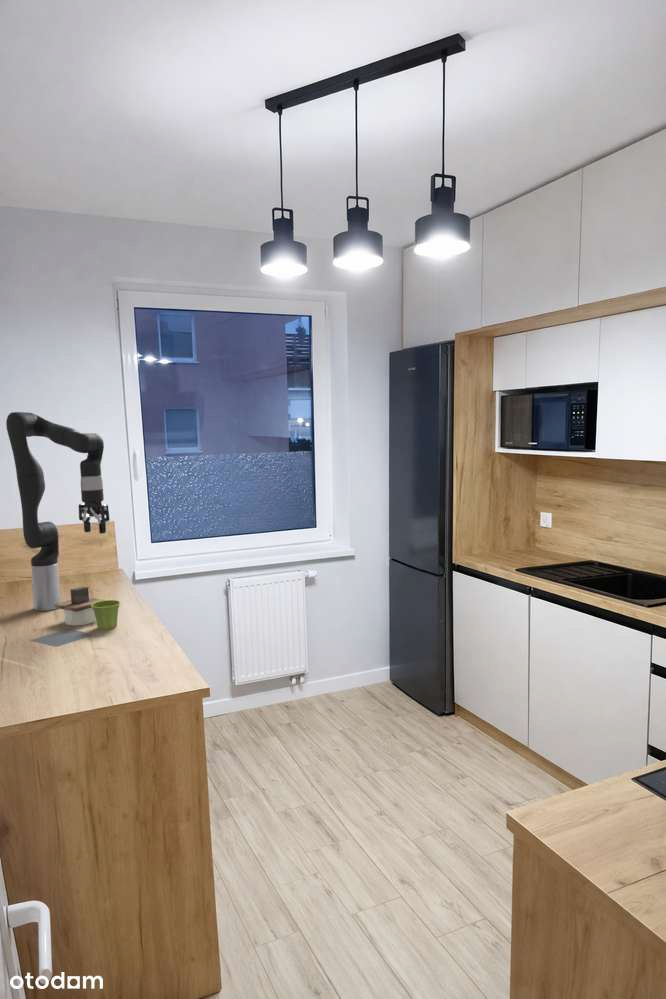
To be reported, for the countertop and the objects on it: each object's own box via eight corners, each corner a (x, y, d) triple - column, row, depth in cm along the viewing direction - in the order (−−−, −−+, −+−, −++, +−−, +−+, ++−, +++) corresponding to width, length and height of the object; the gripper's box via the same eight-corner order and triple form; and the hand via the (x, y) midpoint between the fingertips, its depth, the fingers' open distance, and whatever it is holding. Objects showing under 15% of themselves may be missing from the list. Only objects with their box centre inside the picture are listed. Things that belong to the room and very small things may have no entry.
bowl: (60, 624, 228) (59, 607, 228) (85, 616, 237) (83, 600, 236) (78, 627, 223) (76, 610, 222) (102, 620, 231) (101, 603, 231)
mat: (30, 641, 209) (30, 640, 209) (68, 629, 221) (68, 628, 221) (56, 648, 202) (56, 646, 202) (95, 635, 213) (94, 634, 213)
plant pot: (128, 625, 224) (126, 601, 223) (107, 633, 215) (106, 608, 214) (107, 623, 227) (105, 599, 227) (86, 631, 219) (84, 605, 218)
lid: (54, 607, 227) (53, 590, 227) (84, 599, 237) (83, 583, 237) (76, 611, 221) (75, 594, 220) (105, 603, 231) (104, 586, 230)
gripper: (113, 488, 236) (116, 532, 237) (88, 487, 243) (91, 530, 245) (95, 489, 229) (98, 535, 231) (70, 489, 237) (74, 533, 239)
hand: (95, 532), depth 238 cm, fingers open, 8 cm apart
